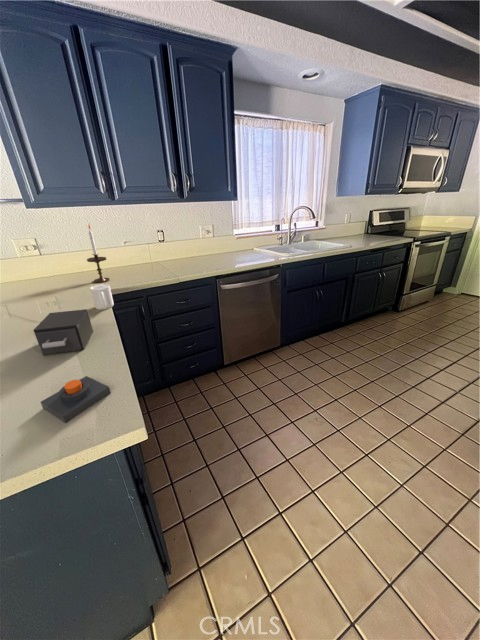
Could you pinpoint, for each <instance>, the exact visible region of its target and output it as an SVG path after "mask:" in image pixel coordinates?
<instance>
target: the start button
mask: <svg viewBox="0 0 480 640" xmlns="http://www.w3.org/2000/svg"><path fill="white" fill-rule="evenodd" d="M63 386H64V388H65V391H66V393H67V394H73V393H76V392H78V391H80V390H81V389H82V384H81V381H80V379H73V380H72V379H71V380H70V381H68V382H66V383H65V384H64V385H63Z"/></svg>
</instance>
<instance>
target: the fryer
mask: <svg viewBox="0 0 480 640" xmlns="http://www.w3.org/2000/svg"><path fill="white" fill-rule="evenodd" d="M74 327H75V329H76V332H77V335H78V338H79V342H80V345H81V349H80V350H74V351H73V352H77V351H84V350H85V349H86V348H87V345H88V343H89V340H90V339H91V337H92V335H93V333H94V329H93V326H92V322H91V318H90V314H89V311H88V308H86V309H84V308H83V309H75V310H66V311H56V312H49V313H48V314H47V316H45V317H44V318H43V319H42V321H40V322H39V324H37V325H36V326H35V328H34V329H33V332H34V336H35V337H36V335H35V333H36V332H41V331H48V330H57V329H65V328H74ZM37 343H38V342H37ZM38 345H39V343H38ZM70 352H71V353H72V351H67V352H66V351H65V352H58V353H50V354H42V356H47V355H48V356H49V355H55V354H56V355H57V354H63V353H70Z"/></svg>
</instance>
